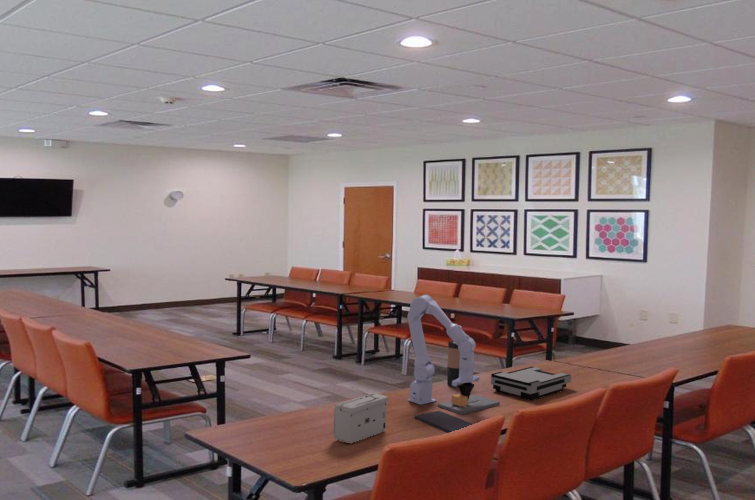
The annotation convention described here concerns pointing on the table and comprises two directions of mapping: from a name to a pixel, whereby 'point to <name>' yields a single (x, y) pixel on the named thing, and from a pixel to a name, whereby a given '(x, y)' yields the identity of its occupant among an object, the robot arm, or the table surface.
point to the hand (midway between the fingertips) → (465, 400)
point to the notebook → (442, 421)
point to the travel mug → (453, 363)
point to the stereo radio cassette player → (360, 417)
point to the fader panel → (470, 405)
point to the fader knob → (459, 400)
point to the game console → (529, 382)
